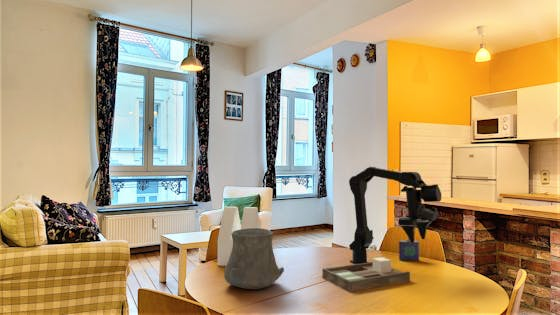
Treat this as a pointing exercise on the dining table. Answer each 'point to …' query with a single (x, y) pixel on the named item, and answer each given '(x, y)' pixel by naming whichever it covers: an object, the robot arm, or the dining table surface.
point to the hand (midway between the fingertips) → (418, 240)
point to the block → (381, 265)
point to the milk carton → (234, 229)
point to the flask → (408, 250)
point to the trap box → (363, 276)
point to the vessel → (252, 259)
